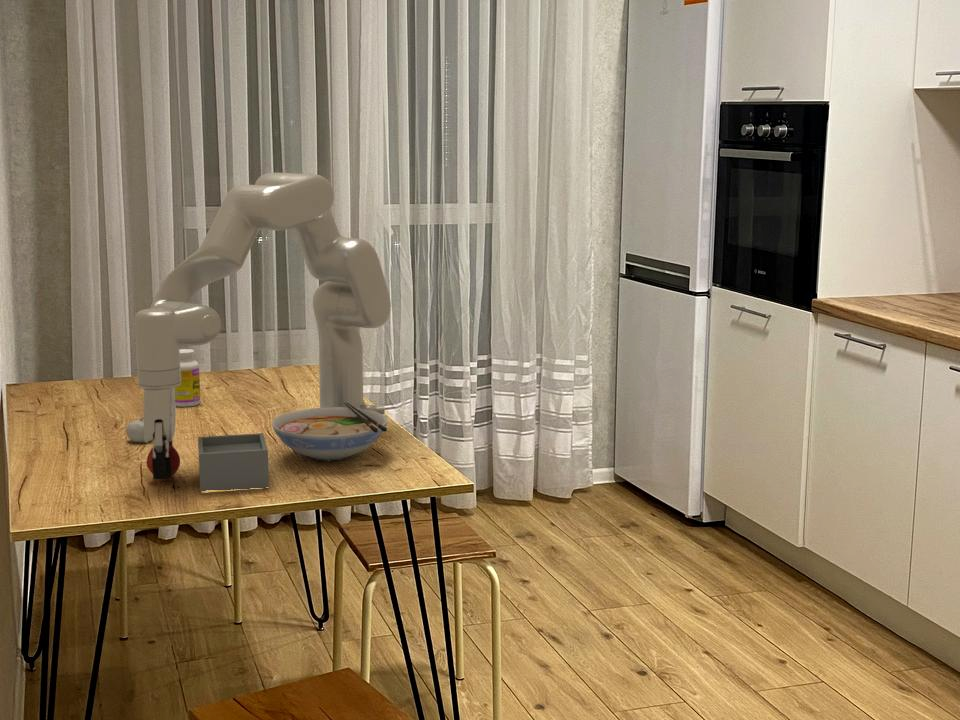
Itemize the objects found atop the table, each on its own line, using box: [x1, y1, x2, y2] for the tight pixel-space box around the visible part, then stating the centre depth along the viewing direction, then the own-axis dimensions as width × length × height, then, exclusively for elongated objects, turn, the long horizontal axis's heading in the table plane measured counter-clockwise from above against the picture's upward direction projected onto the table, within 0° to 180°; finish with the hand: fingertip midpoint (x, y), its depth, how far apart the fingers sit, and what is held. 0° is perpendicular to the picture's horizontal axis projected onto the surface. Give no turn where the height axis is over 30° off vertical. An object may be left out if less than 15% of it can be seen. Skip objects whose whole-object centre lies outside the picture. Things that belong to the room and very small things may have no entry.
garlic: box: [126, 416, 153, 444], centre depth 233 cm, size 6×5×5 cm
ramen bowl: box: [271, 403, 388, 462], centre depth 222 cm, size 25×23×8 cm
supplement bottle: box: [175, 348, 201, 408], centre depth 264 cm, size 7×7×13 cm
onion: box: [146, 444, 181, 481], centre depth 206 cm, size 6×6×8 cm
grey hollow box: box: [197, 432, 270, 491], centre depth 206 cm, size 12×12×8 cm
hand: (164, 472), depth 206 cm, fingers closed on onion, 5 cm apart
